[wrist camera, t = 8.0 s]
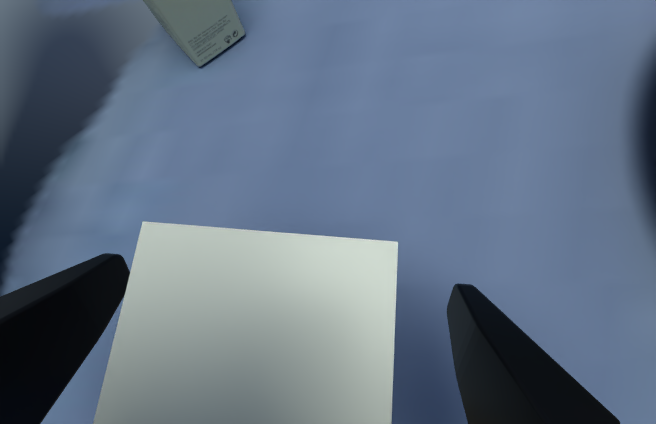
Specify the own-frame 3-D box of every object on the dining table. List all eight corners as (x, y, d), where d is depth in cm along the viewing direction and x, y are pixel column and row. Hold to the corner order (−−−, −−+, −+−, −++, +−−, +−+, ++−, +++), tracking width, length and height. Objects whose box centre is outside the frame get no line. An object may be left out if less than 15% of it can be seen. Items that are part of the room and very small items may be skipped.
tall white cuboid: (362, 360, 15) (388, 511, 5) (257, 347, 16) (84, 461, 5) (368, 270, 16) (397, 242, 6) (269, 261, 17) (142, 221, 6)
